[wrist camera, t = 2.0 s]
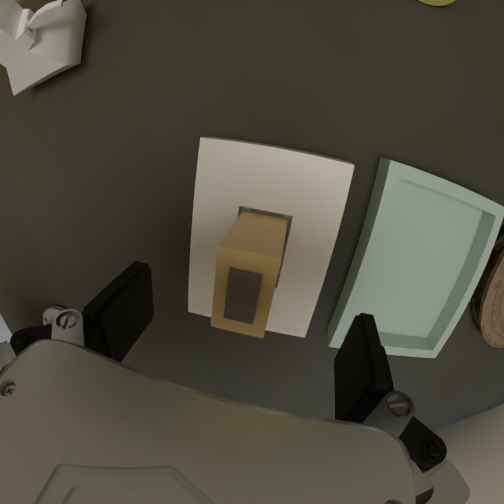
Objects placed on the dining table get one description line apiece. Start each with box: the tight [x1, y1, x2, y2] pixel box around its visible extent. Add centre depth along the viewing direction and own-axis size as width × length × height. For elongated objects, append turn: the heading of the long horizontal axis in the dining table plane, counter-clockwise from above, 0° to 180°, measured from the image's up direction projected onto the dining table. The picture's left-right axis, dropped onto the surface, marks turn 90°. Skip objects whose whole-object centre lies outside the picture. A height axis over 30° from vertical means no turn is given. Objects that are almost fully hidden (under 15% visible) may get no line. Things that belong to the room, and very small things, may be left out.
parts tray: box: [327, 157, 504, 358], centre depth 20 cm, size 16×12×2 cm
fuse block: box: [188, 137, 354, 338], centre depth 21 cm, size 14×10×3 cm
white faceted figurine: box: [0, 0, 87, 96], centre depth 11 cm, size 8×14×14 cm, turn 90°
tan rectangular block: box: [211, 208, 287, 338], centre depth 17 cm, size 5×3×8 cm, turn 172°
